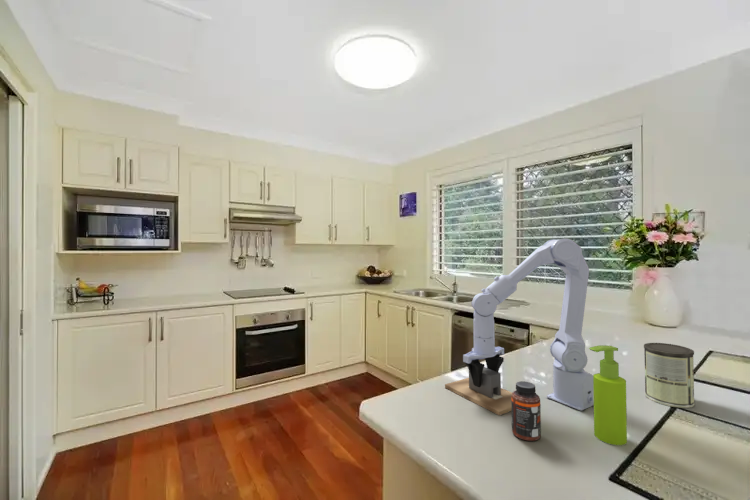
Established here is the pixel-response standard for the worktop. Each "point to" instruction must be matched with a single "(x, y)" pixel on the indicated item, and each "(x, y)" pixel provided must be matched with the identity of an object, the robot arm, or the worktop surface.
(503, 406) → the pin board
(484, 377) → the block
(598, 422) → the soap dispenser
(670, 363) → the coffee can
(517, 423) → the supplement bottle
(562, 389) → the robot arm
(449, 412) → the worktop surface
